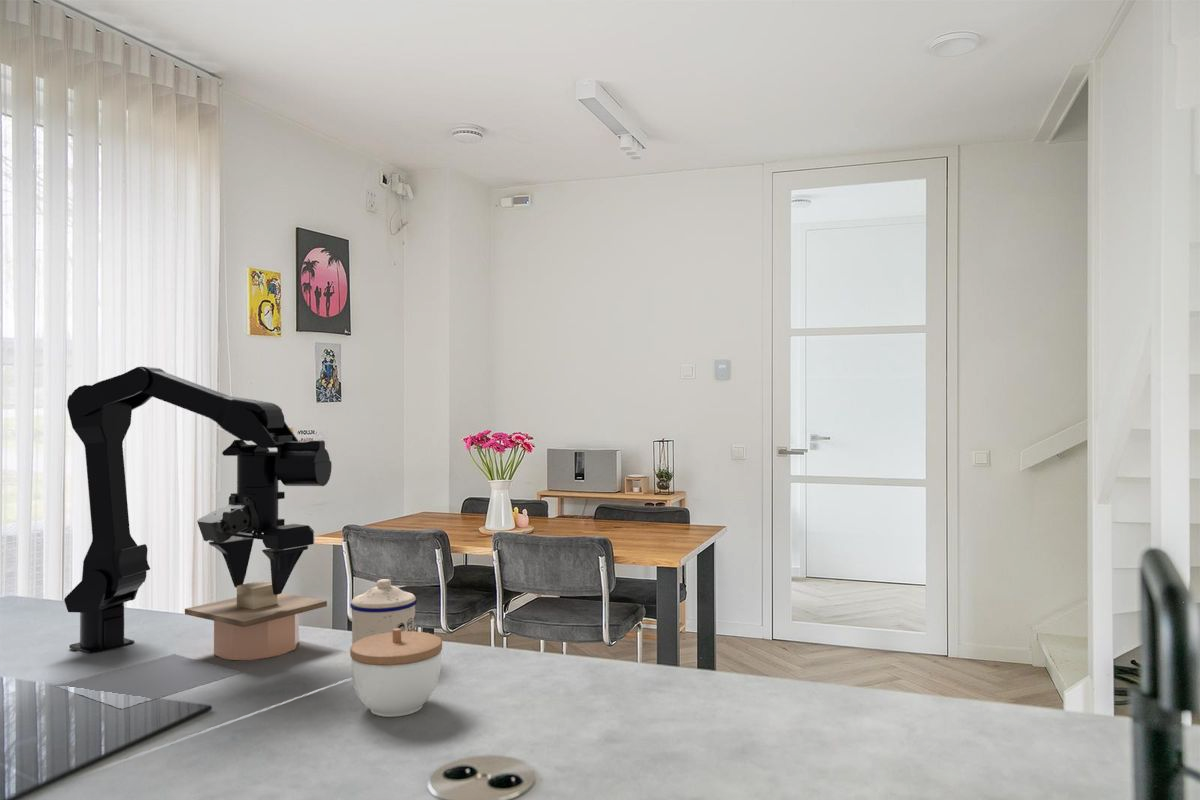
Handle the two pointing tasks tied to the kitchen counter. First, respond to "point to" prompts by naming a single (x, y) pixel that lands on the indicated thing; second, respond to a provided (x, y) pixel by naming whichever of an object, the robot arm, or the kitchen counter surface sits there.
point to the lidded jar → (396, 671)
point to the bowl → (256, 639)
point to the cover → (255, 606)
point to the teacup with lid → (382, 611)
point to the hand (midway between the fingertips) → (257, 590)
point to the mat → (155, 677)
